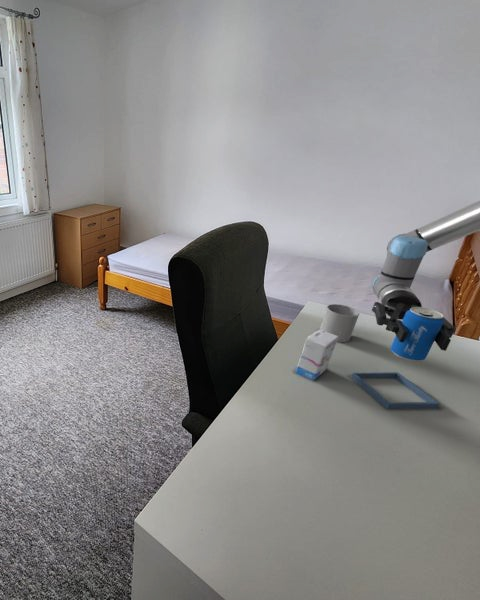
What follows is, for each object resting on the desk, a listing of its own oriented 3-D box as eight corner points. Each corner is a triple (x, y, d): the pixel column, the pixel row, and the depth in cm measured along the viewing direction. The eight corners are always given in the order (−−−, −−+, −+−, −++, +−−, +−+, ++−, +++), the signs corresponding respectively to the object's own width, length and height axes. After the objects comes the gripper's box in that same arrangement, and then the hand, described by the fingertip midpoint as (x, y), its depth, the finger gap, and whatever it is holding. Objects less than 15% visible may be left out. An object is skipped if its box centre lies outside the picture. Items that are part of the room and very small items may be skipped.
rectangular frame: (394, 378, 93) (397, 372, 92) (437, 410, 82) (440, 403, 81) (349, 378, 93) (352, 372, 92) (385, 410, 82) (388, 404, 81)
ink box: (313, 382, 92) (326, 345, 87) (294, 373, 95) (305, 337, 90) (327, 371, 96) (339, 335, 91) (307, 362, 100) (318, 327, 95)
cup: (324, 341, 110) (333, 314, 106) (314, 329, 117) (322, 303, 113) (354, 344, 108) (364, 317, 104) (342, 331, 115) (352, 305, 111)
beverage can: (387, 355, 83) (406, 312, 78) (391, 345, 87) (409, 303, 82) (423, 366, 79) (445, 321, 74) (425, 355, 83) (446, 311, 78)
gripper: (440, 321, 91) (476, 367, 73) (351, 307, 100) (365, 344, 82) (452, 296, 88) (494, 337, 70) (360, 283, 97) (375, 317, 79)
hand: (424, 341), depth 76 cm, fingers closed on beverage can, 6 cm apart
